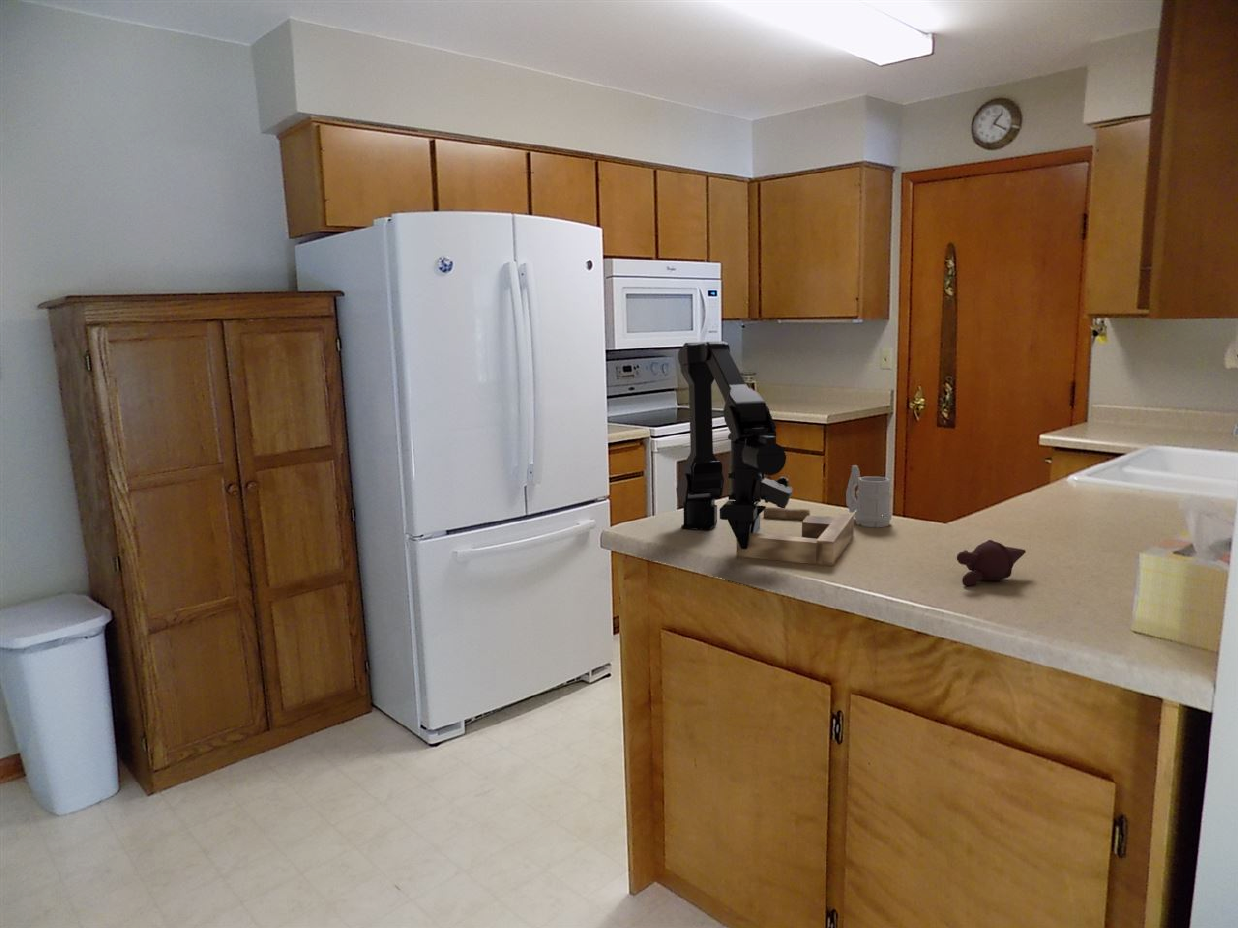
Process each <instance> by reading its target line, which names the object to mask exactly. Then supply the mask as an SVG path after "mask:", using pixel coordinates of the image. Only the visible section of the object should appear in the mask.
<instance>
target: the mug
mask: <svg viewBox="0 0 1238 928" xmlns="http://www.w3.org/2000/svg"><path fill="white" fill-rule="evenodd" d="M860 473H861V471H860V469H859V466H858V465H857V464H854V465H851V473H850V476H849V477H850V478H849V481H848V485H847V489H846V491H845V494H846V495H845V496H846V507H848V510H849V512H850V514H854V519H855V524H856V525H857V526H862V527H866V528H884V527H888V526H890V523H891V522H890V521H891V520H892V513H890V509H891V507H890V498H891V496H892V492H891V491H890V479H889V478H888V477H883V476H873V475H872V476H867V475H866V476H862V477H861V474H860ZM856 487H857V490H856V491H855V489H856ZM882 515H883V516H882Z"/></svg>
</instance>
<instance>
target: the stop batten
mask: <svg viewBox="0 0 1238 928" xmlns="http://www.w3.org/2000/svg"><path fill="white" fill-rule="evenodd" d="M760 529H761V513H760V514H759V517H758V518H757V520H756V524H755V528H754V532H753V533H758V532H759V531H760Z"/></svg>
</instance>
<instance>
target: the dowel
mask: <svg viewBox="0 0 1238 928" xmlns="http://www.w3.org/2000/svg"><path fill="white" fill-rule="evenodd" d="M807 516H811V510H810V509H806V508H805V509H803V508H789V507H788V508H786V507H785V508H780V507H771V506H770V507H767V506H766V508H765V509H764V511H763V518H764V519H781V520H794V521H795V520H797V521H803V520H804V519H805V518H806V517H807Z"/></svg>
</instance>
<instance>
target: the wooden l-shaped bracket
mask: <svg viewBox="0 0 1238 928" xmlns="http://www.w3.org/2000/svg"><path fill="white" fill-rule="evenodd" d="M854 514H855V513H838V514H837V515H836V516H835V517H834V518H835V519H834V520H833V521H832V522H831V524H830V525H829V526H828V527H827V528H826V530H825V531H824V532H823V533H822V534H821V536H820V537H819V538H818V539H815V538H804V537H802V536H791V535H779V534H771V533H769V534H767V533H758V532H757V533H750V536H749V542H748V547H747V549H741V547H740V545H739V543H738V541H737V540H736V556H737V557H742V558H751V559H752V558H753V559H762V560H771V561H772V560H773V561H780V562H788V563H789V562H790V563H799V564H800V563H801V564H811V565H817V566H818V565H820V566H829V567H833V566H834V565H835V564H836V562H837V560H838V559H839V558H840V556H841V554H842V553H844V551H845V549H846V548H847V546H848V545H849V543H850V542H851V540H852V538H853V537H854V530H855V529H854V528H855V527H854V526H855V524H854V523H855V517H854ZM736 556H735V557H736Z"/></svg>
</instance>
